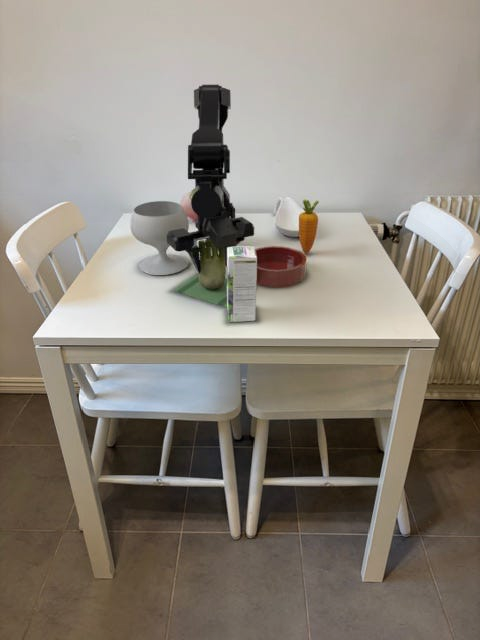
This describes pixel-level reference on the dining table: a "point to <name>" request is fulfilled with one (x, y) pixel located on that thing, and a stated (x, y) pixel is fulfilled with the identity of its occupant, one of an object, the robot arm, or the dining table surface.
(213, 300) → the tea towel
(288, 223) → the white gravy boat
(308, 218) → the carrot
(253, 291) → the syrup box
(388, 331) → the dining table surface
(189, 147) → the robot arm
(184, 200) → the decorative fruit
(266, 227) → the dining table surface
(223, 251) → the fennel bulb
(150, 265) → the chalice
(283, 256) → the bowl
